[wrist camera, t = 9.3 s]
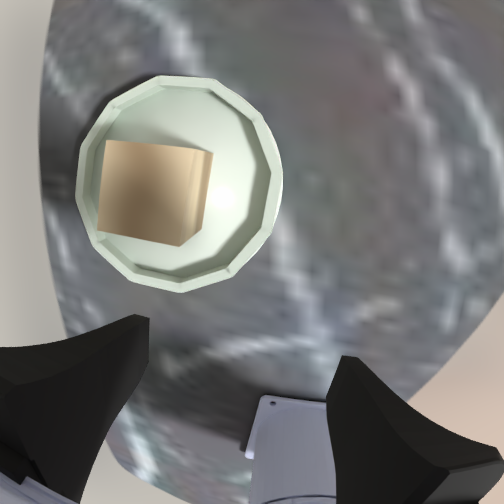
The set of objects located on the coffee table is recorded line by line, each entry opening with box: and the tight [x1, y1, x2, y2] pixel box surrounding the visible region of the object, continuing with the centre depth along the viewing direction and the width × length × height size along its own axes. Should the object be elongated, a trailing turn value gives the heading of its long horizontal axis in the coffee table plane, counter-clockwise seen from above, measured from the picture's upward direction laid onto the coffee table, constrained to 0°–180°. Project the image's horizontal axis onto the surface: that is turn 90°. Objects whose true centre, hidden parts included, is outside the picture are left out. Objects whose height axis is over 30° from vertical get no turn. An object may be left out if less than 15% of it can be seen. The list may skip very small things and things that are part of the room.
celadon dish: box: [75, 76, 283, 293], centre depth 18 cm, size 13×13×2 cm
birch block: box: [97, 140, 214, 247], centre depth 16 cm, size 4×4×4 cm
